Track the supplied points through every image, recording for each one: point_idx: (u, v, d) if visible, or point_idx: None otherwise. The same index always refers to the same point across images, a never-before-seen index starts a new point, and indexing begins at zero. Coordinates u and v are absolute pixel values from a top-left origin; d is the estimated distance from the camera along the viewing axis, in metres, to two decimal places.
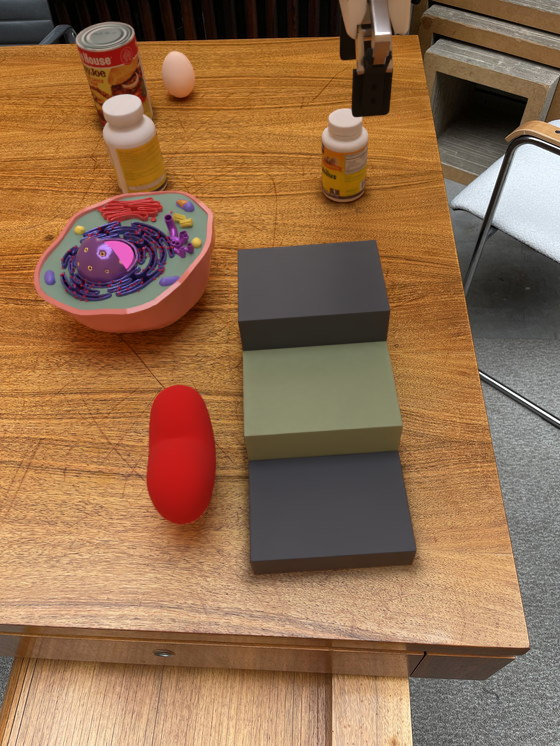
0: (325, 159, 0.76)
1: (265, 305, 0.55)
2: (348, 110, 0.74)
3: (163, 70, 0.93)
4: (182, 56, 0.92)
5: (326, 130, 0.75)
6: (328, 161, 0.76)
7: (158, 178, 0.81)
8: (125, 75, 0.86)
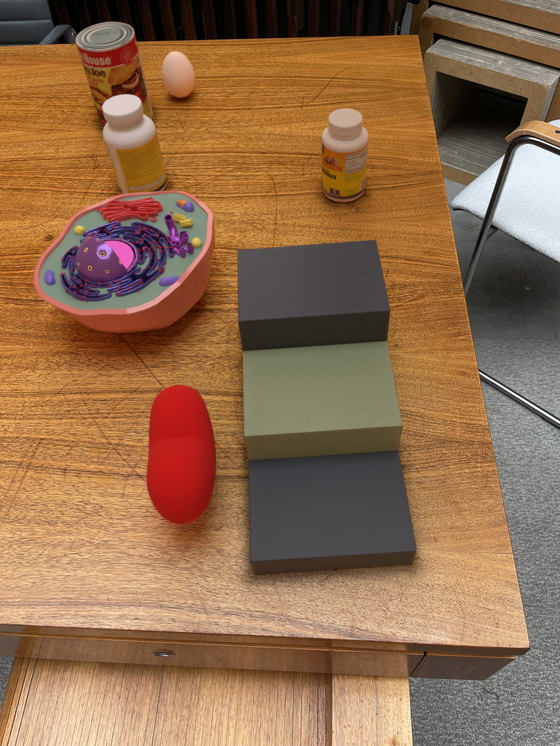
0: (325, 159, 0.76)
1: (265, 305, 0.55)
2: (348, 110, 0.74)
3: (163, 70, 0.93)
4: (182, 56, 0.92)
5: (326, 130, 0.75)
6: (328, 161, 0.76)
7: (158, 178, 0.81)
8: (125, 75, 0.86)
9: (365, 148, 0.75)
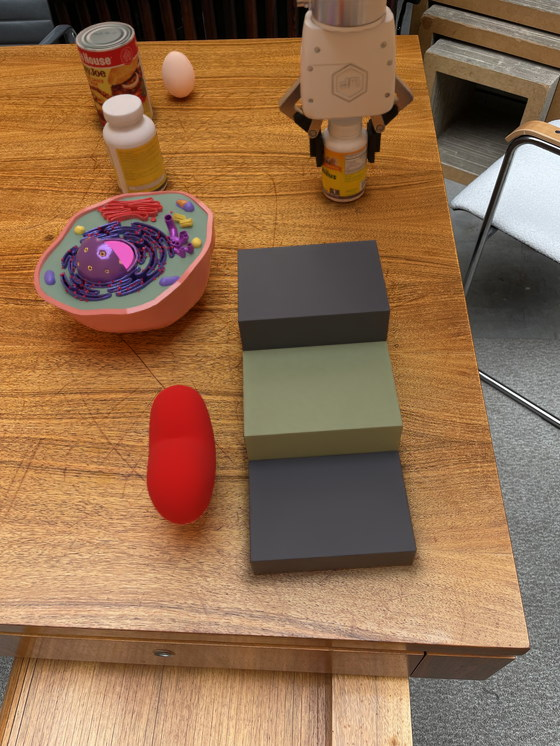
0: (325, 159, 0.76)
1: (265, 305, 0.55)
2: None
3: (163, 70, 0.93)
4: (182, 56, 0.92)
5: (326, 130, 0.75)
6: (328, 161, 0.76)
7: (158, 178, 0.81)
8: (125, 75, 0.86)
9: (365, 148, 0.75)
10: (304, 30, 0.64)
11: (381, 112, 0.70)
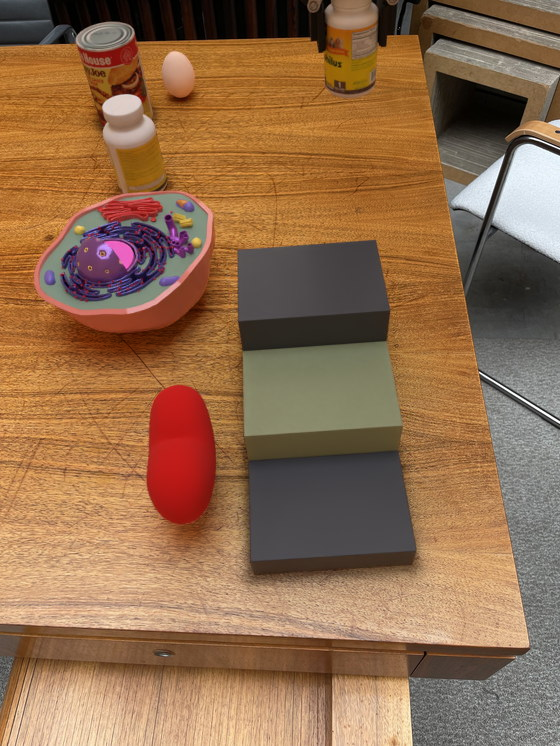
0: (328, 42, 0.65)
1: (265, 305, 0.55)
2: None
3: (163, 70, 0.93)
4: (182, 56, 0.92)
5: (329, 7, 0.64)
6: (332, 44, 0.64)
7: (158, 178, 0.81)
8: (125, 75, 0.86)
9: (375, 26, 0.63)
10: None
11: None
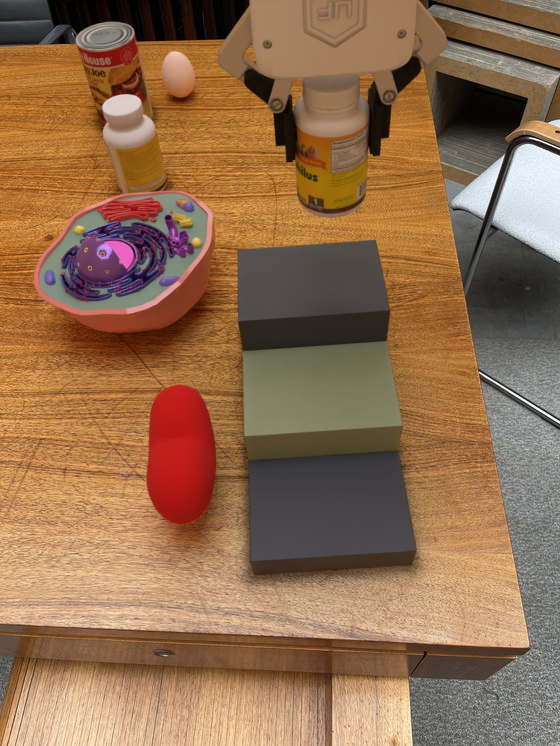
0: (299, 149, 0.47)
1: (265, 305, 0.55)
2: None
3: (163, 70, 0.93)
4: (182, 56, 0.92)
5: (301, 101, 0.46)
6: (304, 152, 0.46)
7: (158, 178, 0.81)
8: (125, 75, 0.86)
9: (364, 130, 0.45)
10: None
11: (391, 66, 0.40)
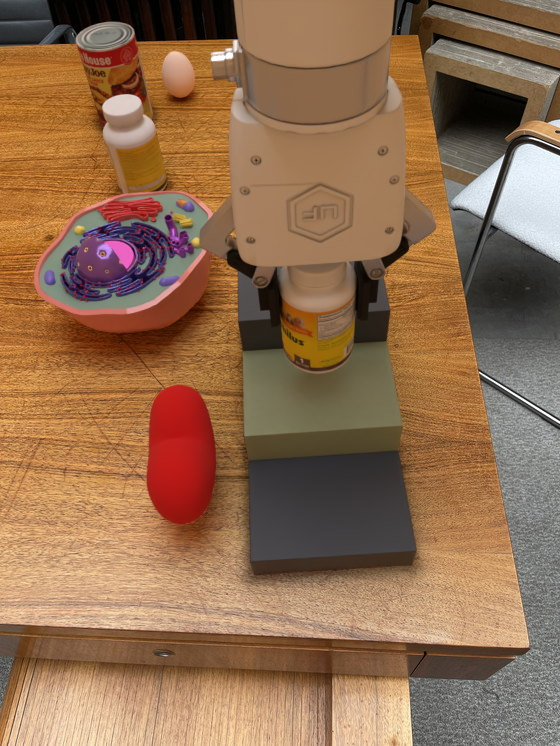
0: (284, 316, 0.45)
1: None
2: None
3: (163, 70, 0.93)
4: (182, 56, 0.92)
5: (285, 269, 0.44)
6: (290, 320, 0.45)
7: (158, 178, 0.81)
8: (125, 75, 0.86)
9: (351, 301, 0.44)
10: (230, 123, 0.33)
11: (379, 256, 0.39)
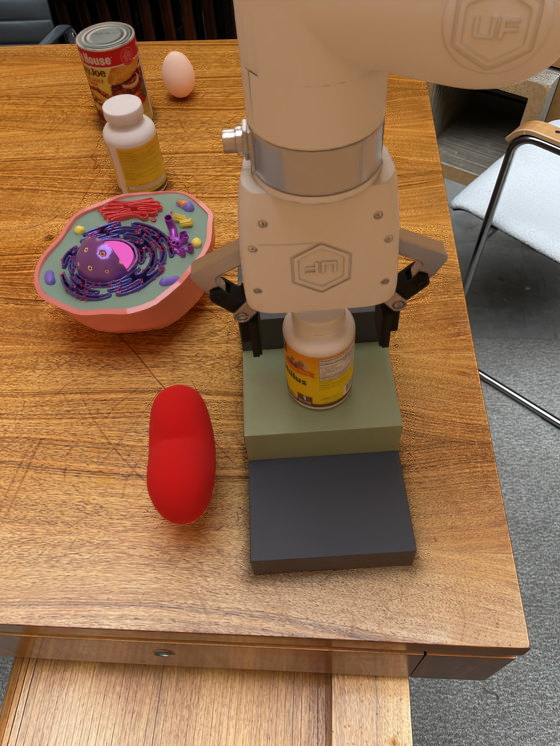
0: (289, 358, 0.49)
1: None
2: None
3: (163, 70, 0.93)
4: (182, 56, 0.92)
5: (290, 317, 0.48)
6: (293, 363, 0.49)
7: (158, 178, 0.81)
8: (125, 75, 0.86)
9: (350, 346, 0.48)
10: (239, 191, 0.37)
11: (375, 303, 0.43)
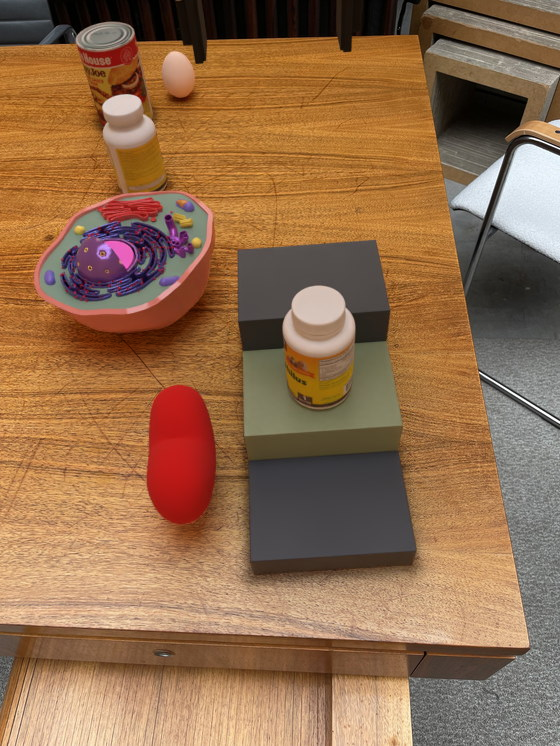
0: (289, 358, 0.49)
1: (265, 305, 0.55)
2: (323, 290, 0.47)
3: (163, 70, 0.93)
4: (182, 56, 0.92)
5: (290, 317, 0.48)
6: (293, 363, 0.49)
7: (158, 178, 0.81)
8: (125, 75, 0.86)
9: (350, 346, 0.48)
10: None
11: None
